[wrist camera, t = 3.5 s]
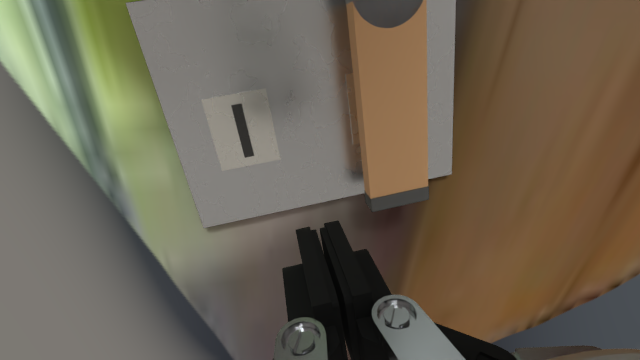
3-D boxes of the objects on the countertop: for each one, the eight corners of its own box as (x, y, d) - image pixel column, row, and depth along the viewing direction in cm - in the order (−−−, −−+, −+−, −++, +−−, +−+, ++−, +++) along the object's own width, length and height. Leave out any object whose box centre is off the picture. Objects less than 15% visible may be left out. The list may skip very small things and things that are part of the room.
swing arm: (338, -54, 21) (345, -62, 19) (414, -64, 21) (428, -73, 20) (364, 202, 28) (371, 212, 27) (420, 190, 29) (429, 199, 27)
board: (129, 4, 22) (112, -2, 20) (451, -41, 25) (475, -52, 22) (205, 223, 30) (199, 241, 27) (447, 171, 32) (464, 182, 29)
